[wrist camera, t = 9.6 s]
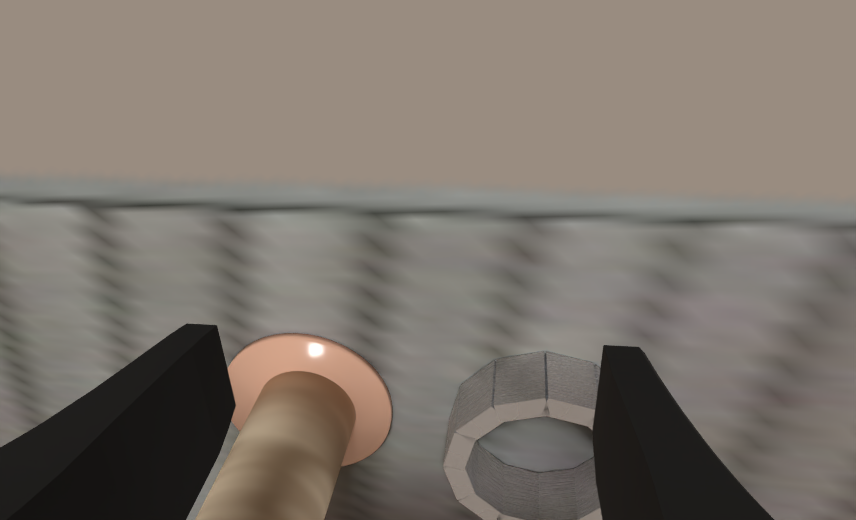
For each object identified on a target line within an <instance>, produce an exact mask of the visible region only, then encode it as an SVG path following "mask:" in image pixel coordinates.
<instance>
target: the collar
mask: <svg viewBox="0 0 856 520" xmlns="http://www.w3.org/2000/svg"><path fill="white" fill-rule="evenodd" d="M600 369H601V368H600V367H598V366H597V365H594V363H591V362H587V361H583V360H579V359H575V358H571V357H567V356H563V355H559V354H555V353H551V352H547V351H546V354H544V351H543V352H537V353H531V354H525V355H519V356H513V357H506V358H500V359H496V361H495V360H494V361H492V362H491V363H490V364H488V365H487V366H485V367H484V368H483V369H481V370H480V371H479V372H477V373H476V374H474V375H473V376H472V377H470V378H469V379H468V380H466V381H465V382H464V383H462V384H461V386H460V387H459V391H458V394H457V397H456V400H455V403H454V406H453V409H452V412H451V415H450V419H449V426H448V434H447V441H446V449H445V456H444V463H443V468H444V471H445V473H446V475H447V478H448V480H449V482H450V485H451V487H452V489H453V492H454V494H455V496H456V499H457V500H458V501H459V502H460V503H461V504H463V505H464V506H465V507H467V508H468V509H470V510H471V511H472V512H474V513H475V514H477V515H478V516H479V517H481V518H482V519H483V520H602V514H601V509H600V503H599V497H598V492H597V486H596V477H595V463H594V457H593V458H592V459H590V460H588V461H587V462H585V463H583V464H581V465H580V466H578V467H576V468H575V469H568V470H560V471H552V472H543V473H537V472H533V471H529V470H525V469H520V468H516V467H512V466H508V465H505V464H503V463H502V462H501V461H499V460H498V459H497V458H495V457H494V456H493V455H491V454H490V453H489V452H488V451H486V450H485V449H484V448H482V447H481V446H480V445H479V443H478V439H479V438H481V437H482V436H484V435H485V434H487V433H488V432H490V431H491V430H493V429H494V428H496V427H497V426H499V425H500V424H502V423H503V422H506V421H513V420H521V419H528V418H535V417H542V416H548V417H552V418H556V419H560V420H564V421H568V422H572V423H576V424H580V425H584V426H588V427H589V428H590V429H591V430H592V431H593V422H594V414H595V407H596V399H597V391H598V384H599V376H600Z"/></svg>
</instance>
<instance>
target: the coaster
mask: <svg viewBox="0 0 856 520" xmlns="http://www.w3.org/2000/svg"><path fill="white" fill-rule="evenodd" d="M290 371H306V372H311V373H315V374H318V375H321V376H324V377H326V378H328V379H330V380H331V381H333V382H335V383H336V384H337V385H339V386H340V387H341V388H342V389H343V390H344V391H345V392H346V393H347V394H348V396H349V397H350V399H351V400H352V403H353V405H354V408H355V413H356V419H355V424H354V427H353V430H352V433H351V437H350V440H349V443H348V446H347V449H346V452H345V456H344V459H343V462H342V465H341V466H346V465H350V464H353V463H356V462H358V461H361V460H363V459H365V458H366V457H368V456H370V455H371V454H372V453H374V452H375V451H376V450H377V449H378V448H379V447H380V446H381V444H382V443H383V442H384V440H385V438H386V437H387V434H388V431H389V429H390V424H391V419H392V401H391V396H390V394H389V391H388V388H387V386H386V384H385V383H384V381H383V379H382V378H381V376H380V375H379V374H378V372H377V371H376V370H375V369H374V368H373V367H372V366H371V365H370V364H369V363H368V362H367V361H366V360H365V359H364V358H362V357H361V356H360V355H358V354H357V353H355V352H354V351H352V350H351V349H349V348H347V347H345V346H343V345H341V344H339V343H336V342H334V341H332V340H329V339H325V338H322V337H319V336H314V335H309V334H299V333H284V334H276V335H271V336H267V337H263V338H261V339H258V340H256V341H254V342H252V343H250V344H249V345H247V346H246V347H244V348H243V349H242V350H241V351H240V352H239V353H238V354H237V355H236V356H235V357H234V359H233V360H232V362H231V364H230V366H229V367H228V374H229V378H230V382H231V386H232V390H233V394H234V398H235V403H236V407H235V410H234V413H233V416H232V419H231V420H232V422H233V423H234V425H235V426H236V428H237V429H238V430H239V431H241V429H242V427H243V425H244V424H245V422H246V420H247V418H248V416H249V414H250V412H251V410H252V408H253V406H254V404H255V402H256V400H257V398H258V396H259V394H260V392H261V390H262V388H263V387H264V385H265V384H266V383H267V382H268V381H269V380H270V379H271V378H273V377H274V376H276V375H279V374H281V373H285V372H290Z"/></svg>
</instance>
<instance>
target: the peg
mask: <svg viewBox="0 0 856 520" xmlns="http://www.w3.org/2000/svg"><path fill="white" fill-rule="evenodd" d="M355 419H356V413H355V408H354V405H353V403H352V400H351V399H350V397H349V396H348V394H347V393H346V392H345V391H344V390H343V389H342V388H341V387H340V386H339V385H337V384H336V383H335V382H333V381H331V380H330V379H328V378H326V377H324V376H321V375H318V374H315V373H311V372H306V371H290V372H285V373H281V374H279V375H276V376H274V377H273V378H271V379H270V380H269V381H268V382H267V383H266V384H265V385H264V387H263V388H262V390H261V392H260V394H259V396H258V398H257V400H256V402H255V404H254V406H253V408H252V410H251V412H250V414H249V416H248V418H247V420H246V422H245V424H244V425H243V427H242V429H241V431H240V433H239V435H238V437H237V439H236V441H235V443H234V445H233V447H232V449H231V451H230V453H229V455H228V457H227V459H226V461H225V463H224V465H223V466H222V468H221V470H220V472H219V474H218V476H217V478H216V480H215V482H214V484H213V486H212V488H211V490H210V492H209V494H208V496H207V498H206V500H205V502H204V504H203V506H202V507H201V509H200V511H199V513H198V515H197V517H196V519H195V520H324V519H325V516H326V512H327V509H328V506H329V503H330V500H331V497H332V494H333V490H334V487H335V484H336V481H337V478H338V475H339V471H340V468H341V465H342V462H343V459H344V456H345V452H346V449H347V446H348V443H349V440H350V437H351V433H352V430H353V427H354V424H355Z"/></svg>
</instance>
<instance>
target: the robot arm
mask: <svg viewBox="0 0 856 520" xmlns="http://www.w3.org/2000/svg"><path fill="white" fill-rule="evenodd" d="M235 407H236V403H235V398H234V394H233V390H232V386H231V382H230V378H229V374H228V369H227V365H226V361H225V357H224V353H223V349H222V345H221V340H220V336H219V332H218V328H217V325H202V324H185V325H184V326H182V327H181V328H179V329H178V330H176V331H175V332H173V333H172V334H170V335H169V336H167V337H166V338H165V339H163V340H162V341H160V342H159V343H158V344H156V345H155V346H153V347H152V348H151V349H149V350H148V351H146V352H145V353H144V354H142V355H141V356H140V357H138V358H137V359H135V360H134V361H133V362H131V363H130V364H128V365H127V366H126V367H124V368H123V369H121V370H120V371H119V372H117V373H116V374H114V375H113V376H112V377H110V378H109V379H107V380H106V381H105V382H103V383H102V384H100V385H99V386H98V387H96V388H95V389H93V390H92V391H90V392H89V393H87V394H86V395H84V396H83V397H81V398H80V399H78V400H77V401H75V402H73V403H72V404H70V405H69V406H67V407H66V408H64V409H63V410H61V411H60V412H58V413H57V414H55V415H54V416H52V417H51V418H49V419H48V420H46V421H45V422H43V423H41V424H40V425H38V426H37V427H35V428H33V429H32V430H30V431H28V432H27V433H25V434H23V435H21V436H20V437H18V438H16V439H15V440H13V441H11V442H9V443H8V444H6V445H4V446H2V447H0V520H186V518H187V516H188V515H189V513H190V511H191V509H192V507H193V505H194V503H195V501H196V499H197V497H198V495H199V493H200V491H201V489H202V487H203V485H204V483H205V481H206V479H207V477H208V475H209V473H210V471H211V469H212V467H213V465H214V463H215V461H216V459H217V457H218V455H219V453H220V450H221V448H222V445H223V442H224V440H225V437H226V434H227V431H228V428H229V425H230V422H231V419H232V416H233V413H234V410H235ZM593 446H594V463H595V477H596V486H597V492H598V497H599V503H600V509H601V514H602V520H774V519H773V518H772V517H771V516H770V515H769V514H768V513H767V512H766V511H765V510H764V509H763V508H762V507H761V506H760V505H759V503H758V502H757V501H756V500H755V499H754V498H753V497H752V496H751V495H750V494H749V493H748V492H747V490H746V489H745V488H744V487H743V486H742V485H741V484H740V483H739V481H738V480H737V479H736V478H735V477H734V476H733V475H732V473H731V472H730V471H729V470H728V469H727V467H726V466H725V465H724V464H723V463H722V462H721V460H720V459H719V458H718V457H717V456H716V454H715V453H714V452H713V451H712V449H711V448H710V447H709V446H708V444H707V443H706V442H705V440H704V439H703V438H702V436H701V435H700V434H699V432H698V431H697V430H696V428H695V427H694V426H693V424H692V423H691V422H690V420H689V419H688V418H687V417H686V415H685V414H684V412H683V411H682V410H681V408H680V407H679V405H678V404H677V403H676V401H675V400H674V398H673V397H672V395H671V394H670V392H669V391H668V389H667V388H666V386H665V385H664V383H663V382H662V380H661V379H660V377H659V376H658V374H657V373H656V371H655V369H654V368H653V366H652V365H651V363H650V361H649V360H648V358H647V356H646V355H645V353H644V352H643V351H642V350H641V349H640V348H639V347H628V346H609V345H604V346H603V354H602V361H601V369H600V376H599V384H598V391H597V399H596V407H595V414H594V422H593Z"/></svg>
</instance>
